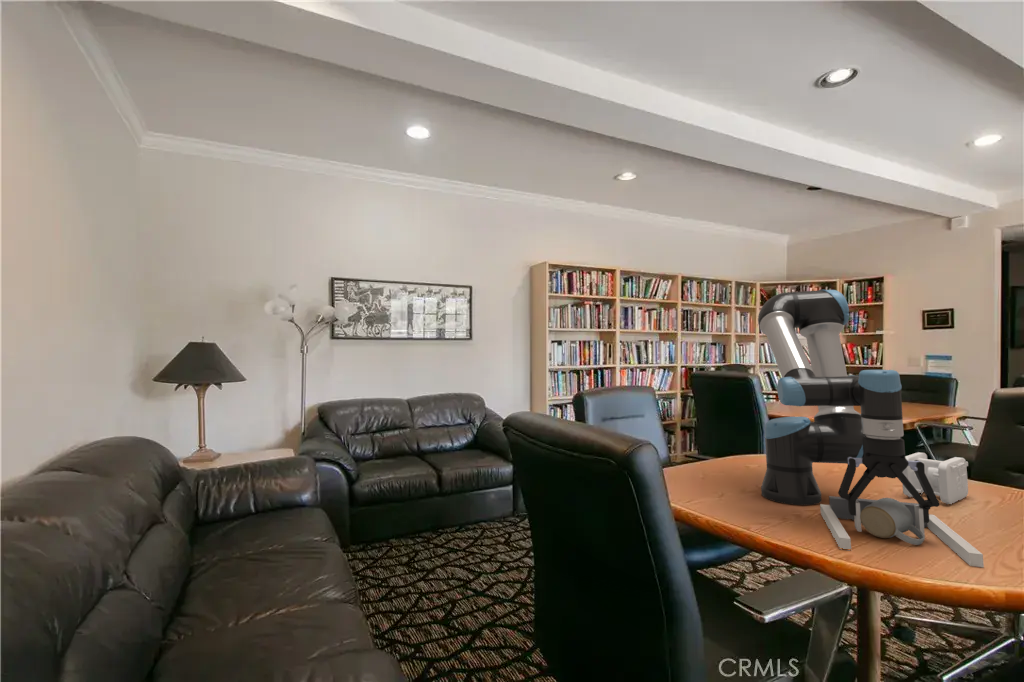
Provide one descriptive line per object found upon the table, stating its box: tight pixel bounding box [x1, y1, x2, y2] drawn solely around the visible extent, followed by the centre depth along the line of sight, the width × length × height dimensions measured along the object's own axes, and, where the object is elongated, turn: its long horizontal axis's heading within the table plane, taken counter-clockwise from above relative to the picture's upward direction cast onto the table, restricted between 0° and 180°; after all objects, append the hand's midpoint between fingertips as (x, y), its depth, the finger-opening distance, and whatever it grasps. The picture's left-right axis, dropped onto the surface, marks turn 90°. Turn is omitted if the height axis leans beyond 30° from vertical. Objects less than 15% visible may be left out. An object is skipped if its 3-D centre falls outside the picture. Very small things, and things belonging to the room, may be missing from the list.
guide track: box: [819, 495, 985, 568], centre depth 104 cm, size 23×24×5 cm
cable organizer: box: [902, 451, 969, 505], centre depth 129 cm, size 15×11×12 cm
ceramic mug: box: [860, 497, 926, 546], centre depth 103 cm, size 11×8×8 cm
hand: (888, 532), depth 104 cm, fingers closed on ceramic mug, 11 cm apart
